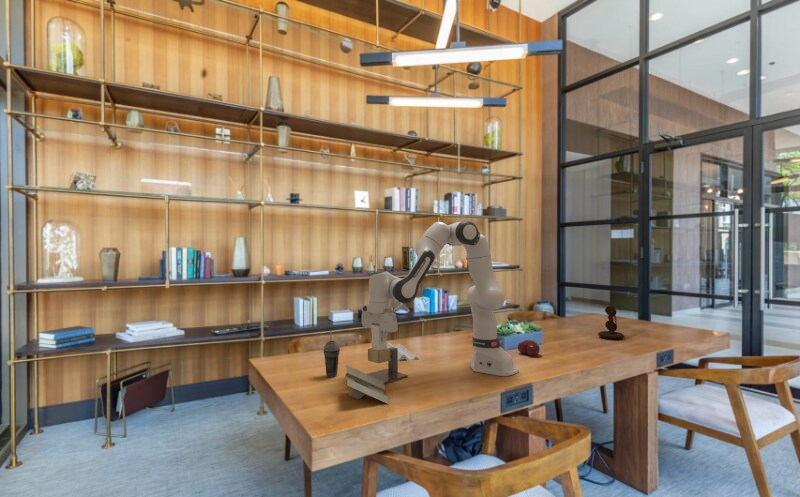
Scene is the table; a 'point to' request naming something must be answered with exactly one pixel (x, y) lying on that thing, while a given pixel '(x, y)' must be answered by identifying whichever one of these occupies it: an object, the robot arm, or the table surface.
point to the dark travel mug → (331, 358)
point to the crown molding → (403, 352)
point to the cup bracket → (392, 371)
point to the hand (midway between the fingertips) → (379, 340)
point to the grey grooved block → (364, 385)
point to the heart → (529, 347)
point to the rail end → (377, 338)
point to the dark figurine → (611, 325)
